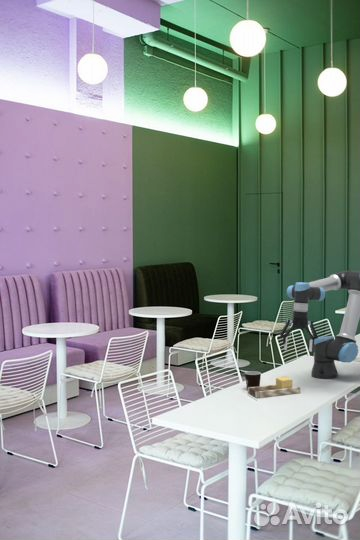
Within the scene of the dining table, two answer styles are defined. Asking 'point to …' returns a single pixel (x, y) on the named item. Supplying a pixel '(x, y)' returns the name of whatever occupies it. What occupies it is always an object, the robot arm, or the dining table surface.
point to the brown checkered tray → (271, 391)
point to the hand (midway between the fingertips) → (297, 350)
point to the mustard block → (283, 383)
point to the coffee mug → (252, 379)
